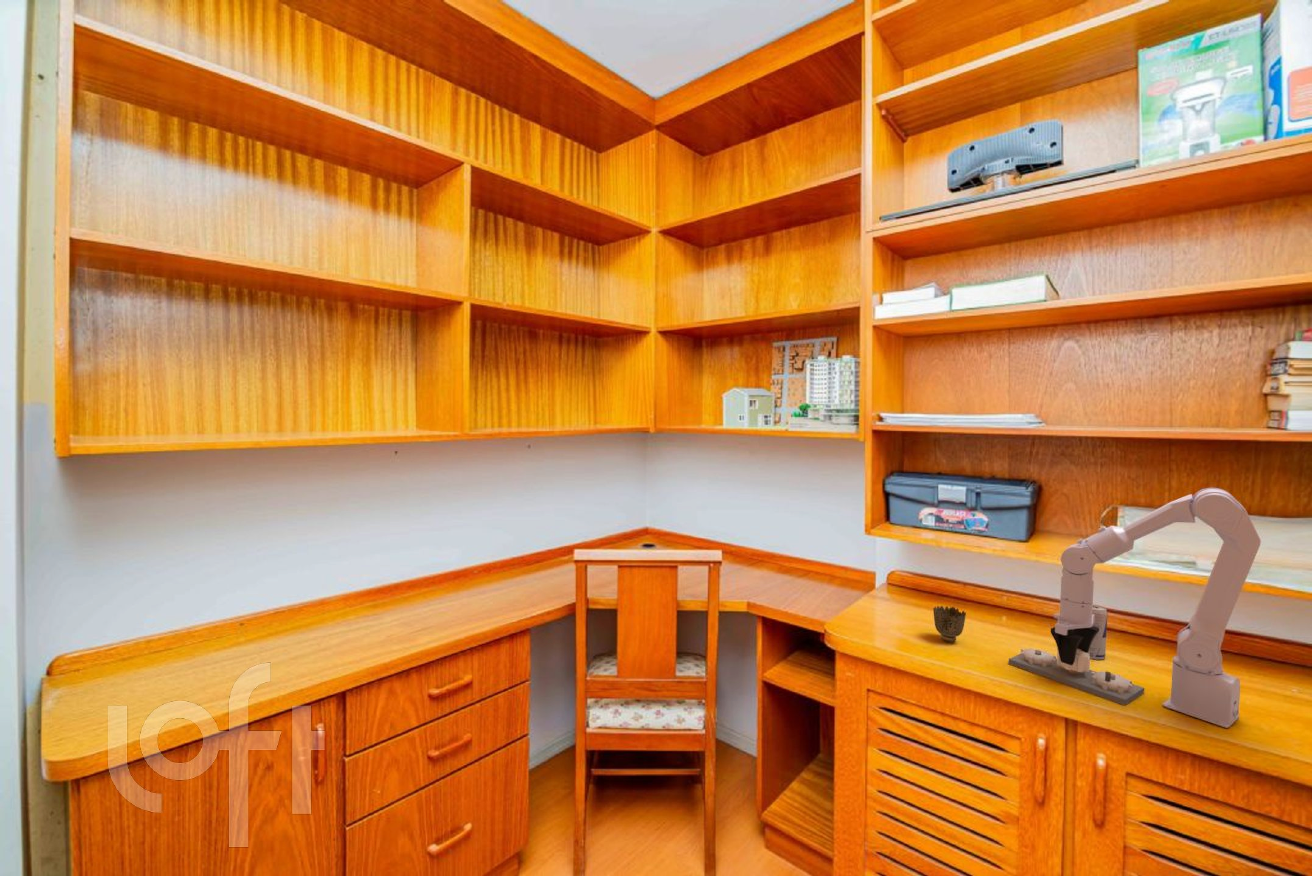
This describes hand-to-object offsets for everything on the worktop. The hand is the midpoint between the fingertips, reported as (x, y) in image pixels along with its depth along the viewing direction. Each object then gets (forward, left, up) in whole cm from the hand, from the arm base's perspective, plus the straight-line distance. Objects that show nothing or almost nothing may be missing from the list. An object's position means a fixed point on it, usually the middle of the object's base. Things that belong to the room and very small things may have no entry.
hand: (1073, 660), depth 125 cm
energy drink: (+3, -18, -4) cm, 19 cm away
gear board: (0, 0, -4) cm, 4 cm away
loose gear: (0, 0, -1) cm, 1 cm away
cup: (+26, +4, -4) cm, 27 cm away
